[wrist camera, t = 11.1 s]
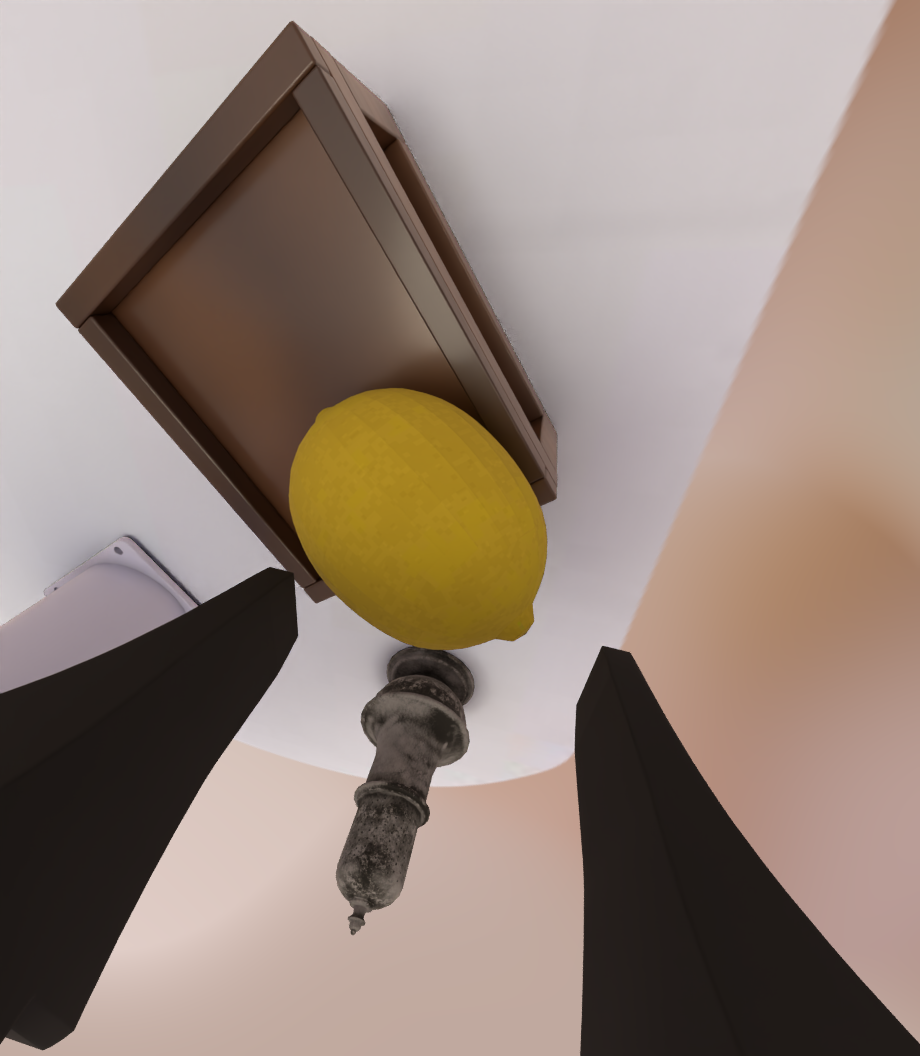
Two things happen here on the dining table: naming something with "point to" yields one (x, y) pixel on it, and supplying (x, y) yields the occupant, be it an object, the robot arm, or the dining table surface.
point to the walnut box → (297, 291)
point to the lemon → (419, 520)
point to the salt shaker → (402, 772)
